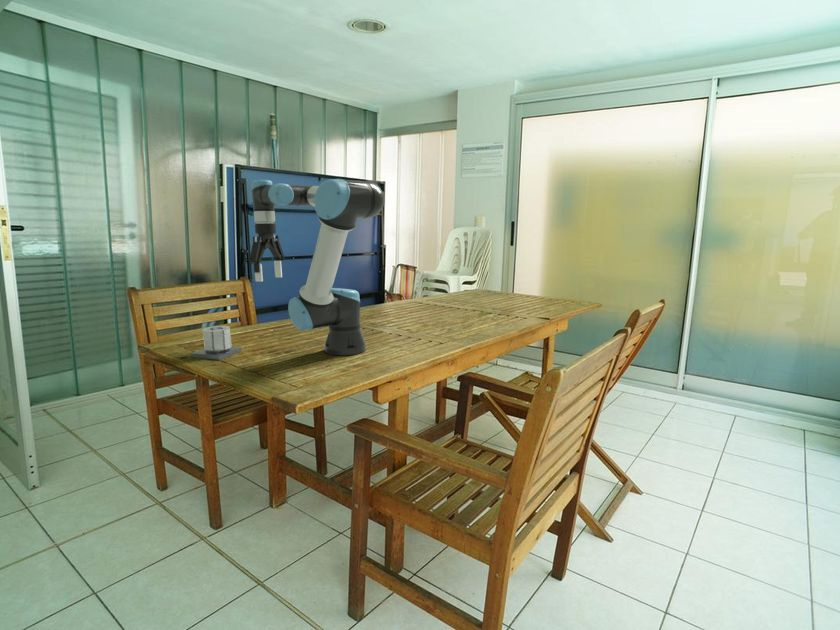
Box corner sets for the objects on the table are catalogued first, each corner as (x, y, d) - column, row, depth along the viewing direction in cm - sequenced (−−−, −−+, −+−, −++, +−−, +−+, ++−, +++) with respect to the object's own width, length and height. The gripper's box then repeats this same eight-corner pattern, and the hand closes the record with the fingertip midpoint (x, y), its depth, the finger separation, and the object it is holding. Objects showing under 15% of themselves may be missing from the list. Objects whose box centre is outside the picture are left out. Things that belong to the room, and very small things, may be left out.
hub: (236, 345, 182) (235, 326, 181) (219, 351, 174) (218, 332, 172) (216, 343, 185) (214, 325, 183) (199, 349, 176) (197, 330, 175)
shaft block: (241, 351, 183) (240, 330, 181) (219, 360, 172) (217, 337, 170) (215, 348, 186) (213, 328, 185) (191, 357, 175) (189, 335, 174)
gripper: (274, 222, 198) (277, 275, 202) (235, 223, 174) (241, 283, 178) (290, 222, 196) (294, 275, 200) (254, 222, 172) (259, 283, 176)
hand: (269, 279), depth 189 cm, fingers open, 13 cm apart
